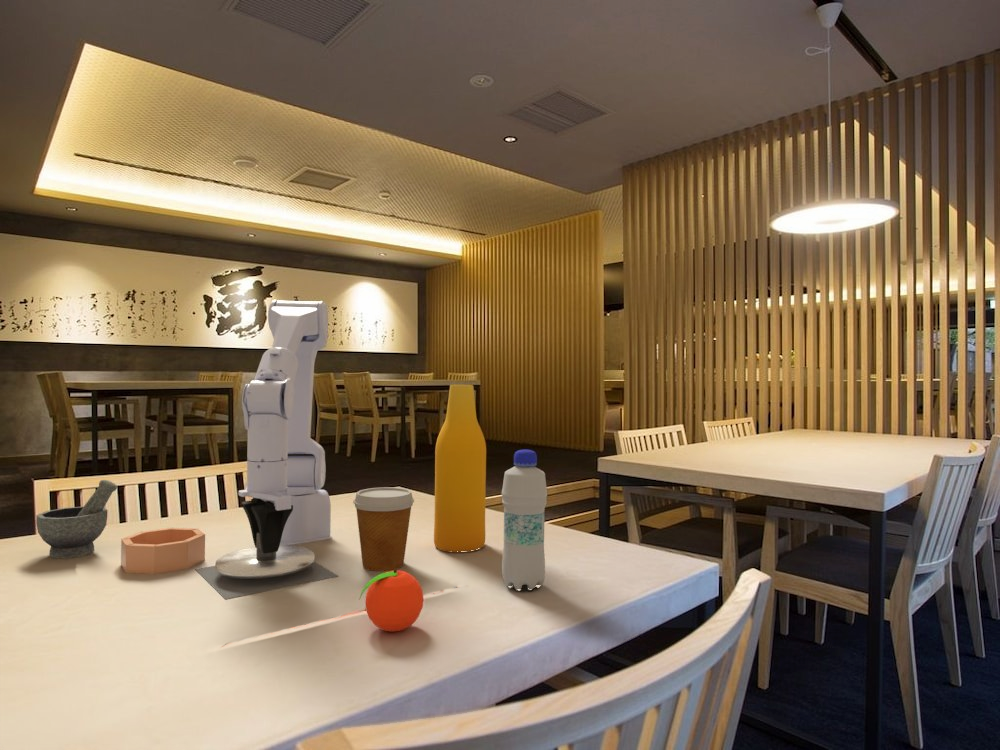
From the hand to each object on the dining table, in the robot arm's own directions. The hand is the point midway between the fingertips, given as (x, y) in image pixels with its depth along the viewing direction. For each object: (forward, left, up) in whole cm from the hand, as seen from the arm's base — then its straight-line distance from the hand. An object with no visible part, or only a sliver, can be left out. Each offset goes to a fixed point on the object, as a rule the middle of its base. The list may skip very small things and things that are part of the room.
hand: (266, 549), depth 93 cm
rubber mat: (0, 0, -4) cm, 4 cm away
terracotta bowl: (+11, -15, -4) cm, 19 cm away
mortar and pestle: (+21, -31, -4) cm, 38 cm away
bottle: (-28, +27, -4) cm, 39 cm away
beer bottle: (-33, +4, -4) cm, 33 cm away
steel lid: (0, 0, -2) cm, 2 cm away
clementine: (-5, +29, -4) cm, 30 cm away
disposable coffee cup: (-16, +7, -4) cm, 18 cm away
